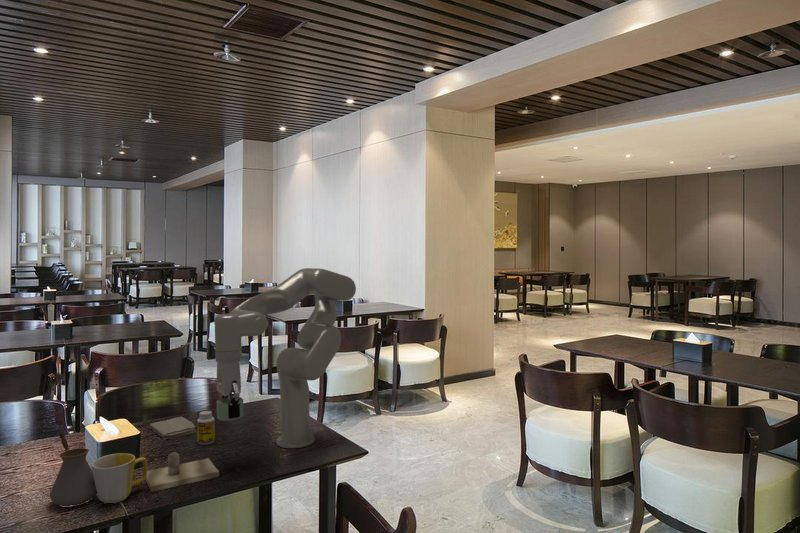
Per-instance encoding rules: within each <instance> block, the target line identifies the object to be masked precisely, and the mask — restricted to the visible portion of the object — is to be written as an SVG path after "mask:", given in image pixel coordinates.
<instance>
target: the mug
mask: <svg viewBox="0 0 800 533" xmlns="http://www.w3.org/2000/svg"><path fill="white" fill-rule="evenodd" d="M147 461H148V460H147V458H146V457H144V456H141V457H137V458H136V456H135V455H134V454H132V453H126V452H125V453H124V452H123V453H122V452H121V453H120V452H119V453H118V452H117V453H112V454H107V455H103V456H101V457H98V458H96V459H95V460H93V461H92V462H91V464H90V467H91V469H92V472H93V476H94V481H95V486H96V490H97V494H96V495H97V498H98V500H99V501H101V502H102V503H103V502H104V503H103V504H106V503H114V504H117V502H118V503H121V502H123V501H125V500H126V499H127V498H128V497H129V495H130V494H131V492H132V487H133V486H136V485H138V484H140V483H142V482H143V481H146V480H145V479H146V476H147V471H148V462H147ZM141 462H142V475H141V476H140V478H137V479H135V480H133V477H134V470H135V465H136V464H138V463H141ZM120 501H121V502H120Z"/></svg>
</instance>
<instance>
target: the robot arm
mask: <svg viewBox="0 0 800 533" xmlns="http://www.w3.org/2000/svg"><path fill="white" fill-rule="evenodd" d="M356 292H357V285H356V283H355V281H354V280H353V279H352V278H351V277H350V276H348V275H347V276H346V275H344V274H340V273H338V272H335V271H332V270H328V269H324V268H312V267H311V268H307V267H305V268H301V269H299V270H297V271H295V272H294V273H293V274H291V275H290V276H289V277H287V278H286V279H284V280H283V281H282V282H281V283H278V285H276V286H275V287H273V288H271V289H269V290H267V291H264V292H261V293H259V294H256V295H254V296H252V297H251V298H248V299H246V300H245V301H243V302H241V303H240V304H239V305H238V306H236V307H235V308H233V309H232V310H231V311H230V312H229V313H221V314H218V315H216V316H215V318H214V344H215V346H214V347H215V348H214V349H215V350H214V352H215V353H214V354H215V362H216V390H217V392H218V393H219V394H220V399H221V398H227V397H228V399H229V405H228V416H229V419H232V418H237V417H240V401H239V397H241V396H240V395H241V392H242V381H241V380H242V379H241V366H240V361H242V360H243V355H242V354H243V350H242V349H243V347H242V344H243V342H242V338H243V337H257V336H261V335H263V334H265V332H266V331H267V328H268V327H269V321H268V318H267V316H268V315H273V314H277V313H279V314H280V313H282V312H286V311H288V310H290V309H292V308H293V307H294V306H296V305H297V304H298V303H299V302H300V301H302V300H304V298H306V297H307V296H309V295H310V294H314V302H315V303H314V304H315V305H314V308H313V310H312V312H311V314H310V316H309V317H308V318H307V320H306V322H305V323H304V324H303V326H302V327H301V329H300V330H299V332H298V334H297V337H296V342H297V345H298V346H299V347H300V348H299V347H287V348H284V349H282V350H281V351H280V352H279V353H278V355H277V358H276V372H277V376H278V380H279V399H280V401H279V403H280V404H279V405H280V407H279V408H280V436H278V437H277V439H276V442H275V443H276V445H277V446H279V447H281V448H286V449H299V448H305V447H308V446H310V445H312V444H314V443H315V440H316V439H315V438H316V437H315V435H316V434H320V433H324V430H325V429H324V427H323V426H318V427H317V426H316V425H314V426H311V417H310V416H311V414H310V412H311V411H310V386H309V383H308V381H315V380H318V379H319V378H321V376H322V375H324V374H325V372H326V370H327V369H328V368H329V365H330V363H331V362H332V360H333V358H334V357H335V356H336V354H337V353H338V351H339V349H340V346H341V342H342V334H341V331H340V330H339V328H337V327H336V326H335V325H334V324H335V322H336V320H337V317H338V312H337V306H336V301H338V302H347V301H350V300H351V299H353V298H354V296H355V294H356ZM231 397H233V398H232V399H231Z"/></svg>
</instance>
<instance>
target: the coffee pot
mask: <svg viewBox="0 0 800 533" xmlns="http://www.w3.org/2000/svg"><path fill="white" fill-rule="evenodd" d="M58 435H60V436H58ZM55 436H56V438H59V439H61V445H62V446H63V449H64V451H63V452H61V453H60V454H59V458H60V459H61V460H62V464H61V466H60V469H59V471H58V473H57V476H56V479H55V481H54V483H53V486H52V488H51V491H50V493H49V498H50V500H51V502H53V503H54V504H56V505H58V506H59V505H62V506H70V505H77V504H81V503H84V502H86V501H88V500H90V499H91V498H92V499H93V498H94V497H96V495H97V490H96V486H95V481H94V476H93V472H92V467H91V465H90V464H89V462H88V460H87V459H86V458H87V455H88V454H89V451H90V449H88V448H73V449H70V446H69V444H68V441H67V439H66V432H65V431H62V430H60V431H59V432H57V433H56V434H55Z"/></svg>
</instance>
